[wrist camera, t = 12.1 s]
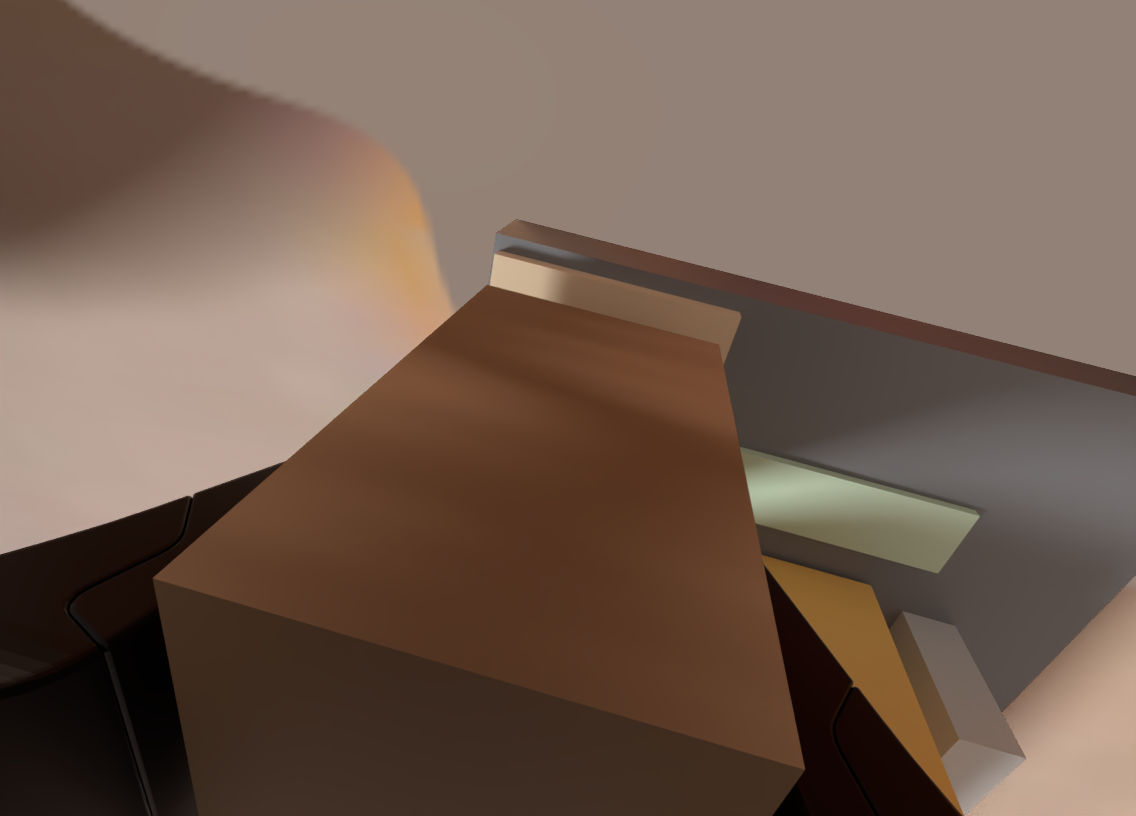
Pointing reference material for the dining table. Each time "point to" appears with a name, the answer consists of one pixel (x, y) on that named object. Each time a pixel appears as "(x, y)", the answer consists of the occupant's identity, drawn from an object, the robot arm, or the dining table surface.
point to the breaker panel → (900, 469)
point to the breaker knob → (864, 655)
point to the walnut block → (494, 592)
